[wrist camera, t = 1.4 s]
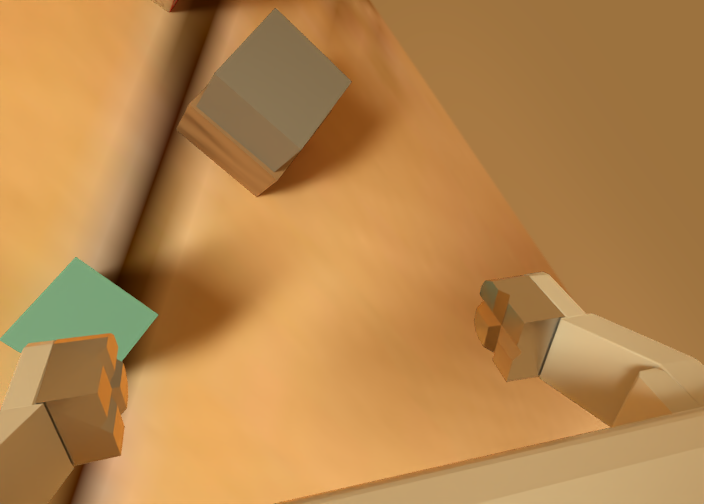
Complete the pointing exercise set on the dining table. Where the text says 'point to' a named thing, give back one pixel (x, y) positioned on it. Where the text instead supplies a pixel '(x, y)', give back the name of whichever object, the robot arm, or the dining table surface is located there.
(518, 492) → the robot arm
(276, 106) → the tower top
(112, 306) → the teal pillar
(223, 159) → the tower base
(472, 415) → the dining table surface
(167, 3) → the stack of blocks
